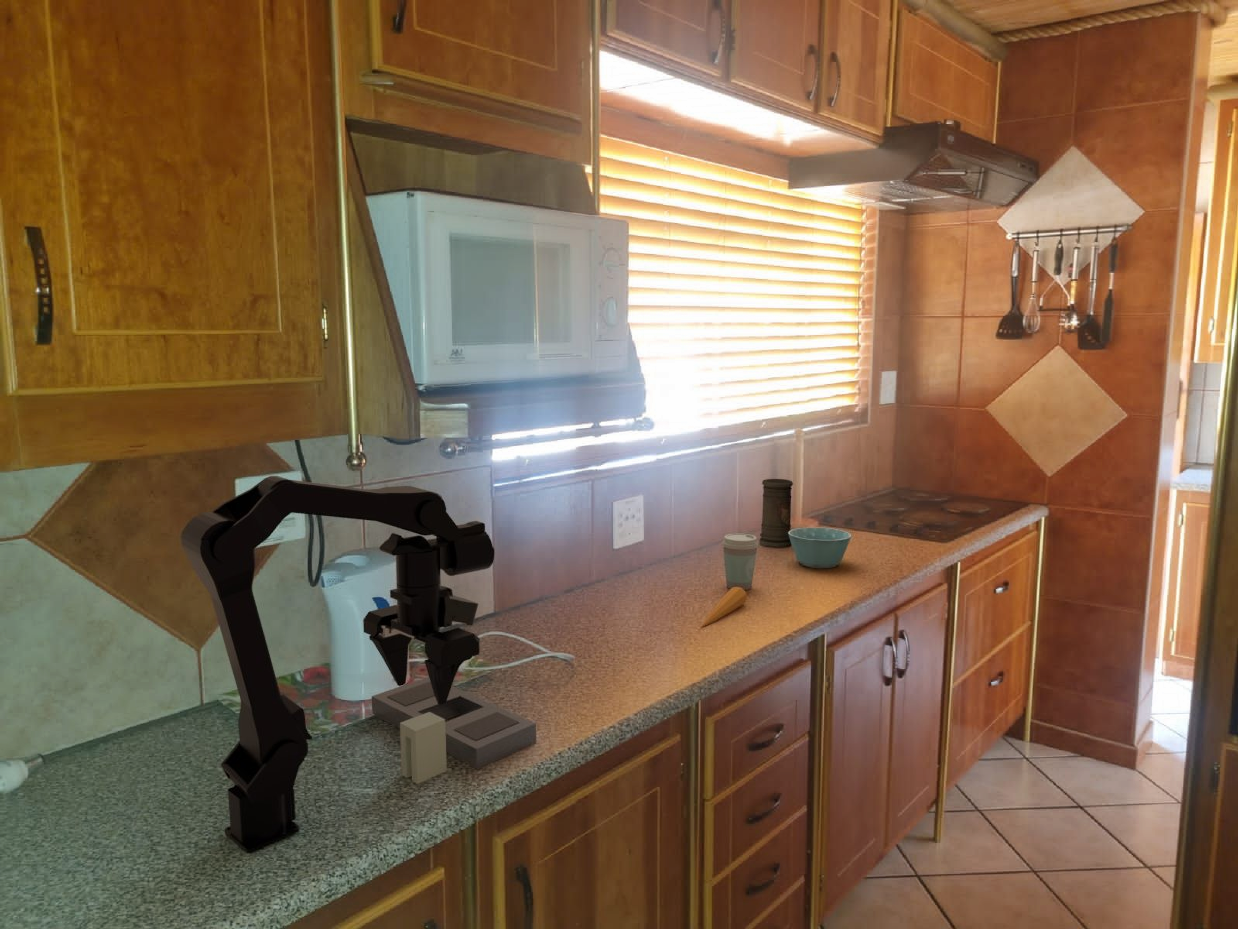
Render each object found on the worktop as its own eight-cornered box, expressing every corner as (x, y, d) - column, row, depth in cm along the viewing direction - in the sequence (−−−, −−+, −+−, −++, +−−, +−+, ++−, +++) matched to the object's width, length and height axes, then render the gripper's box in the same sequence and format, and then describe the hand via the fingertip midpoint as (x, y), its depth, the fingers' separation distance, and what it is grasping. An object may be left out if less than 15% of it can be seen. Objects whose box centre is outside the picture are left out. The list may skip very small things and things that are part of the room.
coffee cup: (748, 594, 206) (750, 543, 204) (714, 588, 210) (715, 538, 208) (763, 585, 213) (764, 535, 211) (730, 579, 217) (731, 531, 216)
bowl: (778, 558, 238) (779, 527, 237) (834, 555, 241) (835, 525, 240) (800, 573, 223) (802, 541, 222) (860, 571, 226) (861, 538, 225)
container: (756, 546, 251) (758, 482, 248) (762, 539, 259) (764, 477, 256) (789, 548, 248) (791, 484, 245) (793, 541, 256) (795, 479, 254)
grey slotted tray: (476, 769, 124) (476, 748, 124) (372, 714, 142) (371, 695, 141) (536, 742, 132) (535, 722, 132) (430, 693, 150) (429, 676, 149)
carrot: (735, 605, 200) (727, 586, 200) (752, 601, 198) (744, 582, 198) (695, 640, 184) (686, 620, 184) (713, 636, 181) (705, 615, 181)
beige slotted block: (417, 784, 120) (415, 731, 119) (401, 774, 123) (399, 722, 121) (446, 771, 124) (445, 719, 123) (430, 762, 126) (429, 711, 125)
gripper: (511, 583, 119) (512, 696, 121) (427, 558, 131) (429, 661, 134) (442, 601, 111) (444, 722, 113) (359, 573, 123) (363, 682, 125)
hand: (421, 694), depth 121 cm, fingers open, 9 cm apart
